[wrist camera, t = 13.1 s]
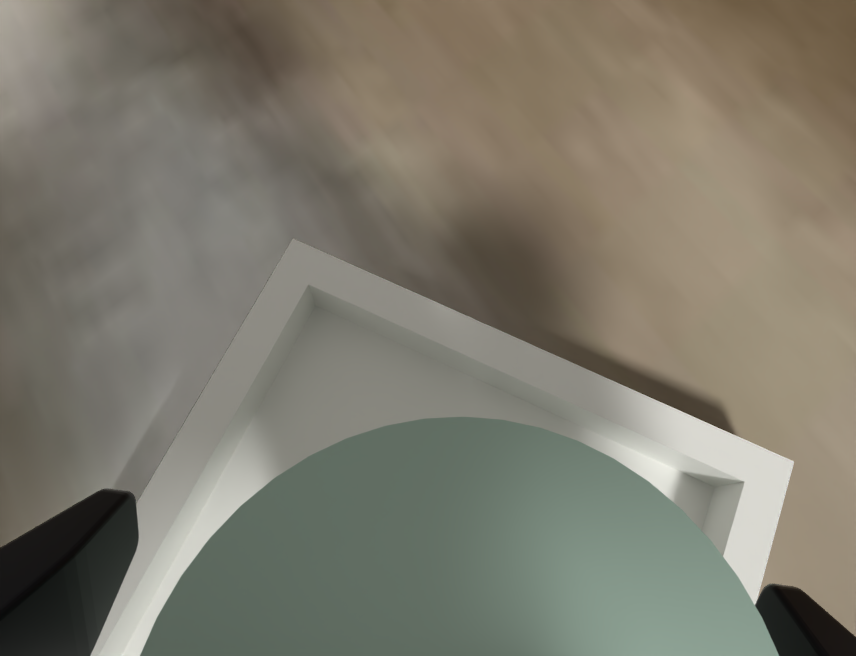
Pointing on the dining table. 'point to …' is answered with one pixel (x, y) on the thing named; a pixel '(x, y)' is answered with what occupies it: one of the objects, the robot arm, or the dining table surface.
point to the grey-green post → (459, 557)
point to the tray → (407, 401)
